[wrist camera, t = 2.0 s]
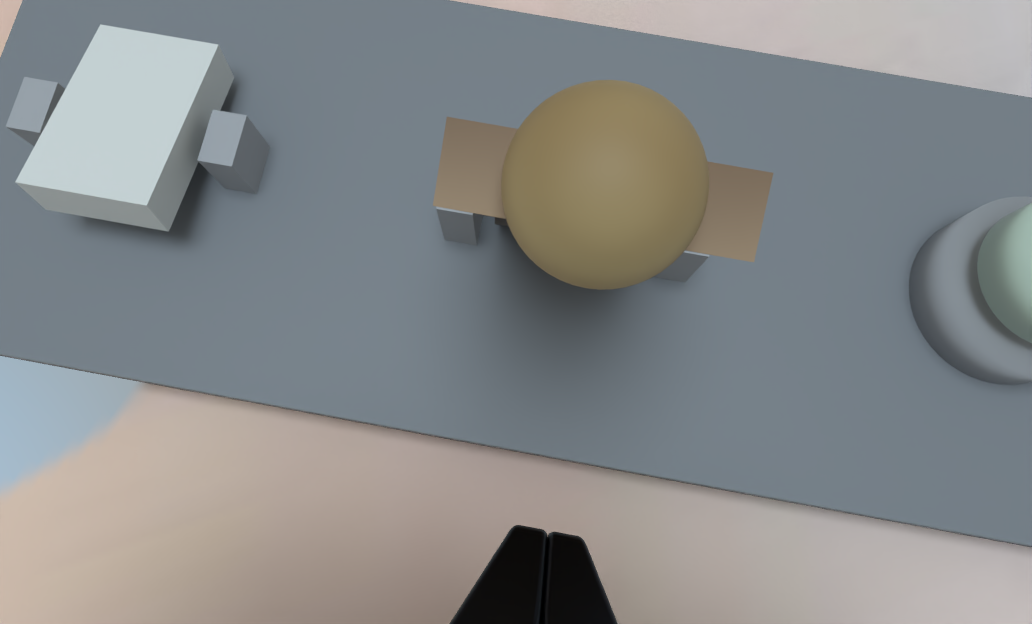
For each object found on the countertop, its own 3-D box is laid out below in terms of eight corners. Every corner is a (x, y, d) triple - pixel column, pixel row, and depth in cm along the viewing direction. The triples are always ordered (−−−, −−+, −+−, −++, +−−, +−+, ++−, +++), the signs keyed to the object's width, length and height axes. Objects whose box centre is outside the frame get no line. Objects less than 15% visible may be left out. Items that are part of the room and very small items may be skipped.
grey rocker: (168, 231, 20) (146, 205, 18) (45, 209, 20) (15, 181, 18) (234, 77, 22) (218, 44, 21) (122, 58, 22) (100, 24, 21)
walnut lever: (636, 265, 21) (786, 332, 8) (494, 240, 21) (396, 263, 8) (653, 180, 21) (841, 92, 7) (509, 155, 21) (431, 23, 7)
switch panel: (1155, 570, 21) (1309, 593, 17) (-67, 343, 22) (-195, 315, 18) (1146, 145, 24) (1274, 79, 20) (75, -36, 25) (-7, -132, 21)
